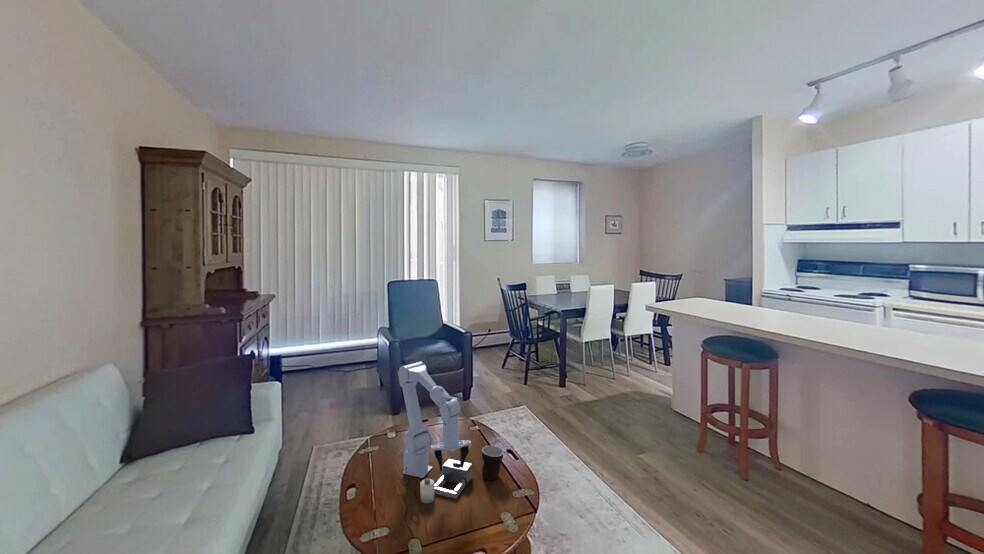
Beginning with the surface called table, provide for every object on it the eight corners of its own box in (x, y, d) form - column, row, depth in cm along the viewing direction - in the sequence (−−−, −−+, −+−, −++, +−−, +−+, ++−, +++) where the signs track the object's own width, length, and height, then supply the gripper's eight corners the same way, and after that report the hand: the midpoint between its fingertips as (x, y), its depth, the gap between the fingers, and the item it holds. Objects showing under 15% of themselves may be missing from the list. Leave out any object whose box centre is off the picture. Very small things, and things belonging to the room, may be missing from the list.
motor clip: (471, 478, 154) (471, 461, 153) (456, 499, 141) (456, 480, 141) (443, 471, 158) (443, 455, 158) (426, 491, 146) (426, 473, 145)
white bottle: (417, 501, 140) (417, 482, 139) (425, 493, 145) (424, 474, 144) (430, 504, 138) (429, 485, 138) (437, 496, 143) (436, 477, 142)
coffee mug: (498, 483, 150) (501, 458, 149) (477, 478, 151) (479, 453, 151) (503, 468, 161) (506, 444, 161) (483, 464, 163) (485, 440, 162)
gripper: (432, 440, 137) (433, 477, 138) (472, 434, 141) (473, 470, 142) (430, 431, 144) (430, 466, 145) (468, 426, 148) (469, 460, 149)
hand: (451, 468), depth 144 cm, fingers open, 7 cm apart
